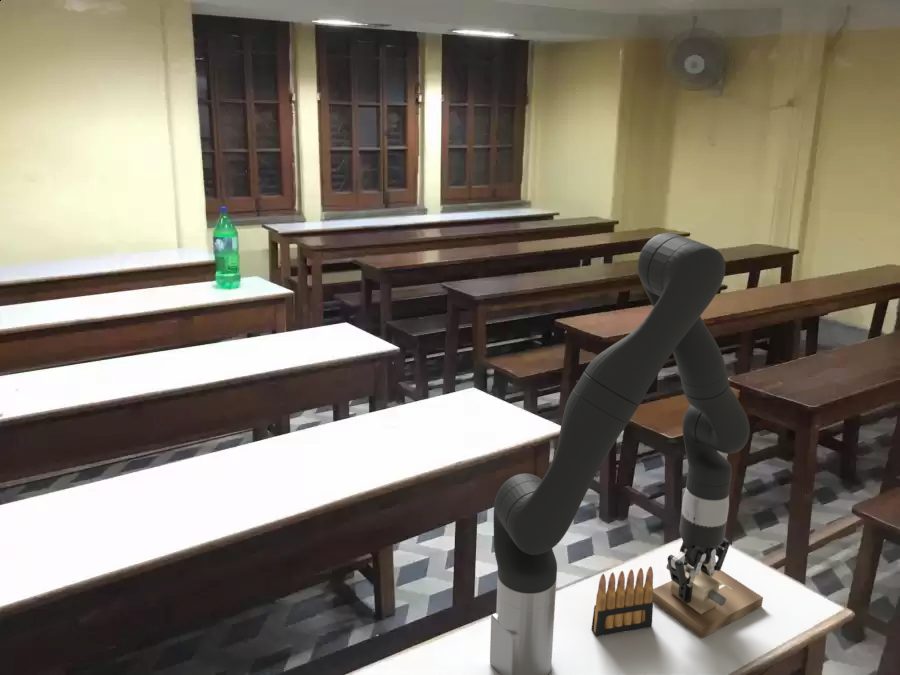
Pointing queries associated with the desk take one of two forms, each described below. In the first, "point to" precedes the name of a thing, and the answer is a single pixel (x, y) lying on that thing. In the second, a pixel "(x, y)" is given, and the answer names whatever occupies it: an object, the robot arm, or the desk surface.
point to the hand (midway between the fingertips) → (693, 595)
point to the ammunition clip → (623, 604)
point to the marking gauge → (702, 592)
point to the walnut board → (735, 607)
